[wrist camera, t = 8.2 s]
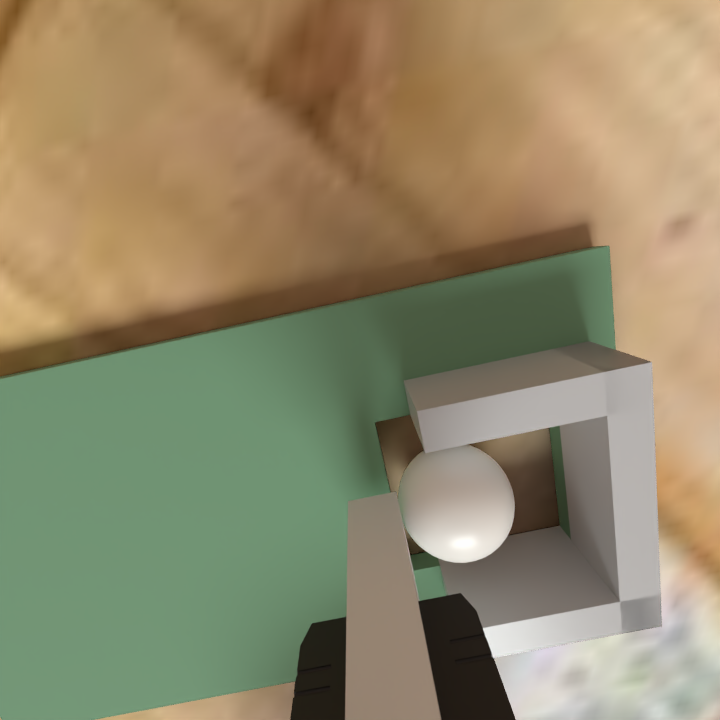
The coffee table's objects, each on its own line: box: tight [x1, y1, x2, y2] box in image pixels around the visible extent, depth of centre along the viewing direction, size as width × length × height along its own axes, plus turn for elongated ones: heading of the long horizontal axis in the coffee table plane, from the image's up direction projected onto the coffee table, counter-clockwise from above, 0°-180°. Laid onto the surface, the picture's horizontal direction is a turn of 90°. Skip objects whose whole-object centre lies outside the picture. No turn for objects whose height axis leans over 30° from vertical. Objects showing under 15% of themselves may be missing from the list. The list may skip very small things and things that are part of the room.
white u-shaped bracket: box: [404, 341, 662, 658], centre depth 13 cm, size 6×8×4 cm
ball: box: [398, 445, 515, 563], centre depth 13 cm, size 4×4×4 cm
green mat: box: [0, 246, 616, 720], centre depth 14 cm, size 25×14×1 cm, turn 102°
